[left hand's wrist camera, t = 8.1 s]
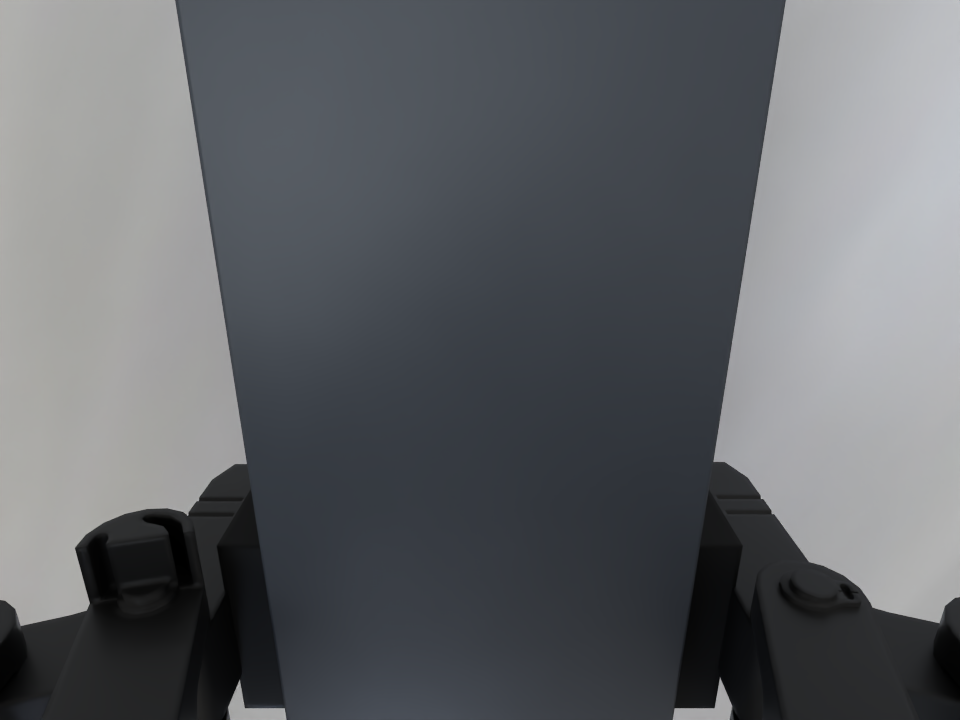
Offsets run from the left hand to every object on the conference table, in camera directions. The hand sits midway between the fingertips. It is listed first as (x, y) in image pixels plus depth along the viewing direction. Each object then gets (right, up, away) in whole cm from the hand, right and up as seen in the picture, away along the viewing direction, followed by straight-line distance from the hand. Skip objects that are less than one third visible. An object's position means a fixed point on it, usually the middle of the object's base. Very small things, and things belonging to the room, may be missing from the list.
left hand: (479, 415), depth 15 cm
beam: (0, +27, -10) cm, 28 cm away
